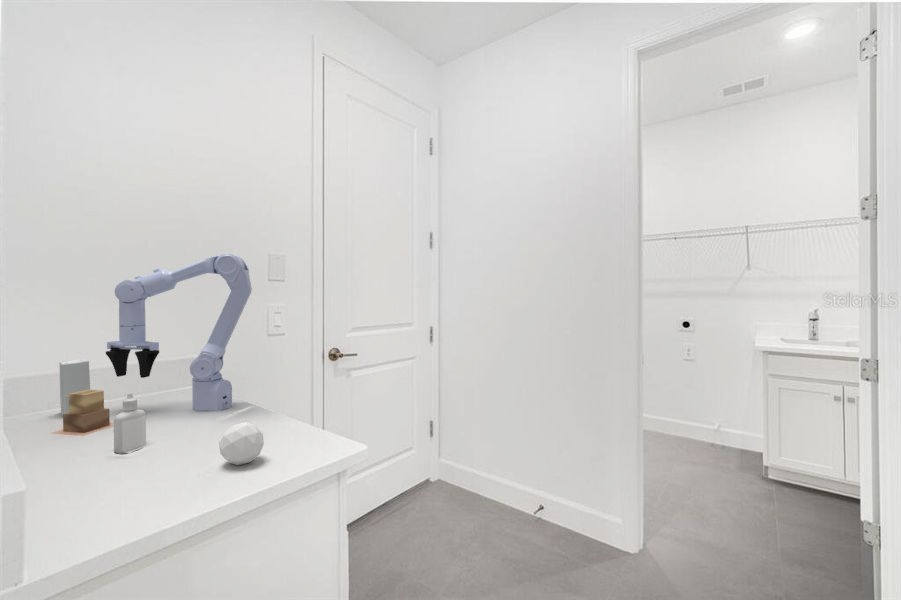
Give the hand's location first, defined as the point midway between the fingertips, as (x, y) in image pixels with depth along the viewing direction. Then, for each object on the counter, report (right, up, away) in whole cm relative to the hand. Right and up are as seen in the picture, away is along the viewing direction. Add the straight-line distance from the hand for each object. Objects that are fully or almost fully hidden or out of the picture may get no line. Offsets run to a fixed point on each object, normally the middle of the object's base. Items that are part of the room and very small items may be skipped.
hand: (133, 376), depth 118 cm
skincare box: (-14, -11, -1) cm, 18 cm away
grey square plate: (+2, -11, -10) cm, 15 cm away
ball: (+44, -11, -32) cm, 56 cm away
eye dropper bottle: (+18, -11, -26) cm, 34 cm away
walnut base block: (-1, -10, -14) cm, 17 cm away
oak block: (-1, -6, -14) cm, 15 cm away
